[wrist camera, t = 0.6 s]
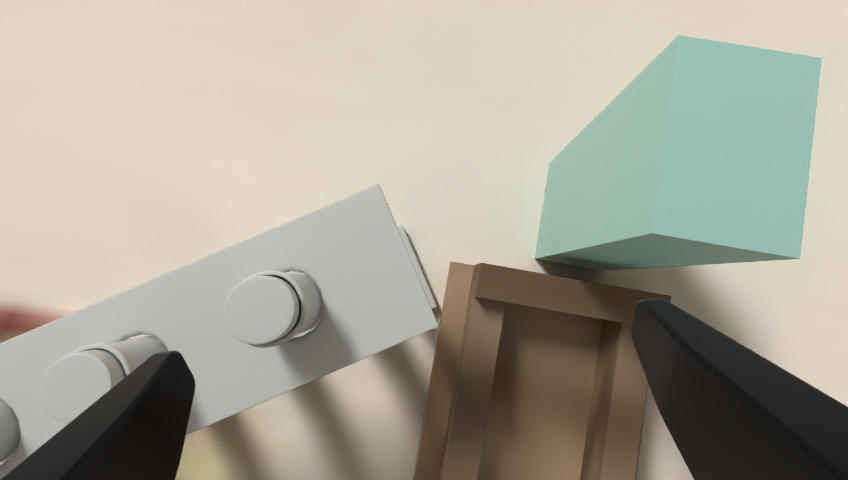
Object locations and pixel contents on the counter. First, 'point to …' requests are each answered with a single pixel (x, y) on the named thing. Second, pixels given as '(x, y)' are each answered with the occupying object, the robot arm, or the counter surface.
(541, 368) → the track board
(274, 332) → the test tube rack
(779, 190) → the mint green tall box
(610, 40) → the counter surface
